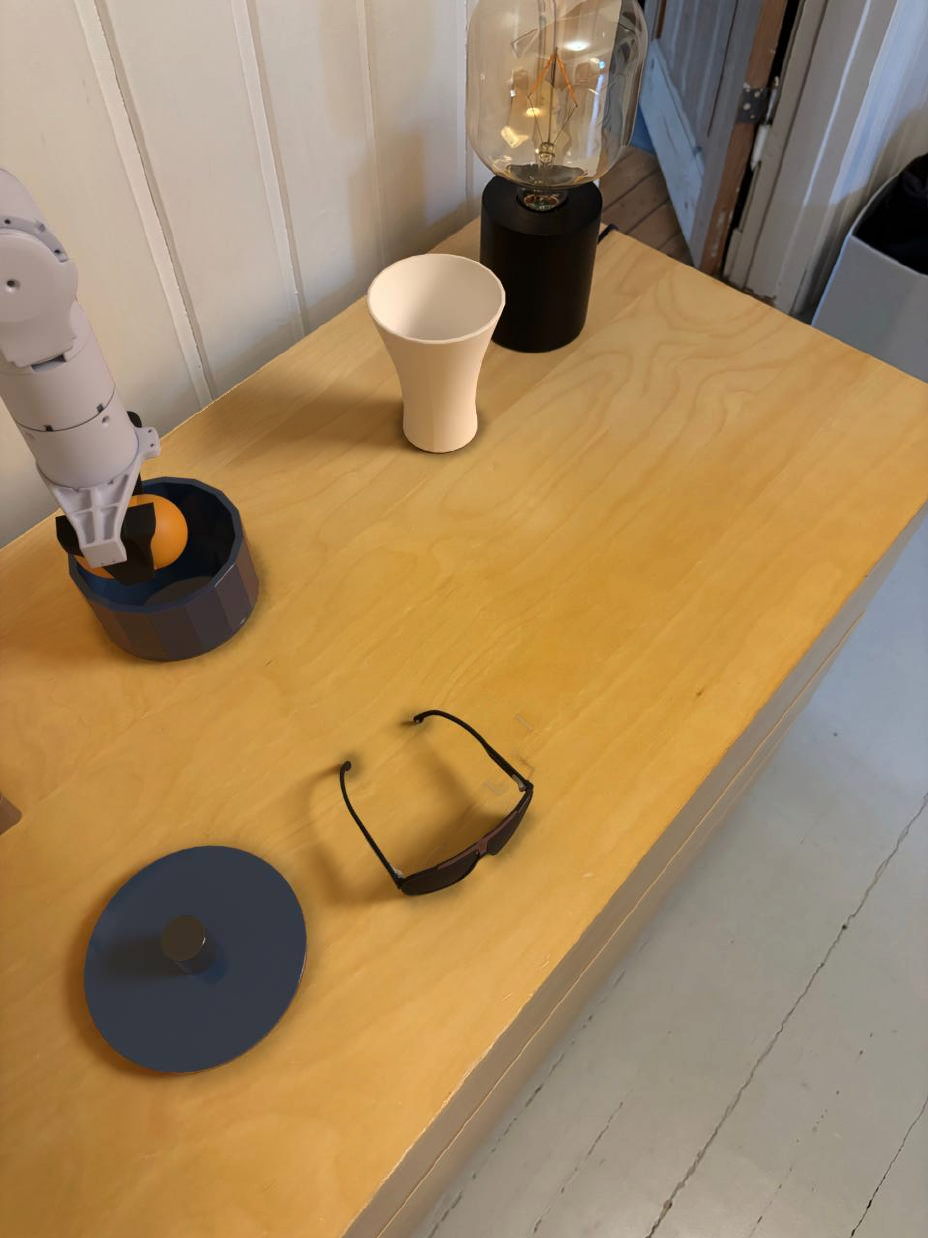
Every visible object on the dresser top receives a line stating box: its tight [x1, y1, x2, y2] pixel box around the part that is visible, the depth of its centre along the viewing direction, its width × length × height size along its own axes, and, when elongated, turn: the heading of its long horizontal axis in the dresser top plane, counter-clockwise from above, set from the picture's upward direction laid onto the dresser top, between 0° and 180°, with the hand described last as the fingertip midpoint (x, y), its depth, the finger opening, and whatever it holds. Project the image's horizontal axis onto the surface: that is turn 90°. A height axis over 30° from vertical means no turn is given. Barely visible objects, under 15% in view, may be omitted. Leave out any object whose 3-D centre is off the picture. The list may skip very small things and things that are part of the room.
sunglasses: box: [339, 709, 535, 897], centre depth 61 cm, size 10×12×5 cm
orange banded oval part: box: [74, 494, 188, 578], centre depth 62 cm, size 7×5×5 cm
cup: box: [365, 253, 506, 453], centre depth 76 cm, size 10×10×14 cm
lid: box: [83, 845, 308, 1075], centre depth 55 cm, size 13×13×4 cm
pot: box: [67, 475, 260, 663], centre depth 69 cm, size 12×12×6 cm
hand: (134, 547), depth 63 cm, fingers closed on orange banded oval part, 5 cm apart
